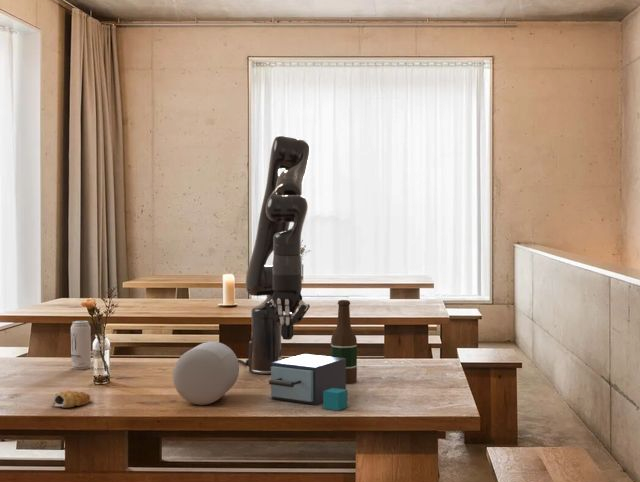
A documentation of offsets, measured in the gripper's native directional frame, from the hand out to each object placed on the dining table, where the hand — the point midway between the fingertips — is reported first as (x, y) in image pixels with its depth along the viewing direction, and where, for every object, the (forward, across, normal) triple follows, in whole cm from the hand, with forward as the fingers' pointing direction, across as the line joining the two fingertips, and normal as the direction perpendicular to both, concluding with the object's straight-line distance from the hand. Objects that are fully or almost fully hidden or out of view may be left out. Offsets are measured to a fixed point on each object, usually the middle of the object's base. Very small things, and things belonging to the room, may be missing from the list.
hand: (287, 339), depth 214 cm
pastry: (+17, +47, +30) cm, 59 cm away
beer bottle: (+17, +2, -33) cm, 37 cm away
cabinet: (+17, 0, -11) cm, 20 cm away
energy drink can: (+17, +84, -7) cm, 86 cm away
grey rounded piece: (+17, +24, +4) cm, 30 cm away
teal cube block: (+17, -13, -3) cm, 22 cm away
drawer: (+16, 0, -6) cm, 17 cm away
